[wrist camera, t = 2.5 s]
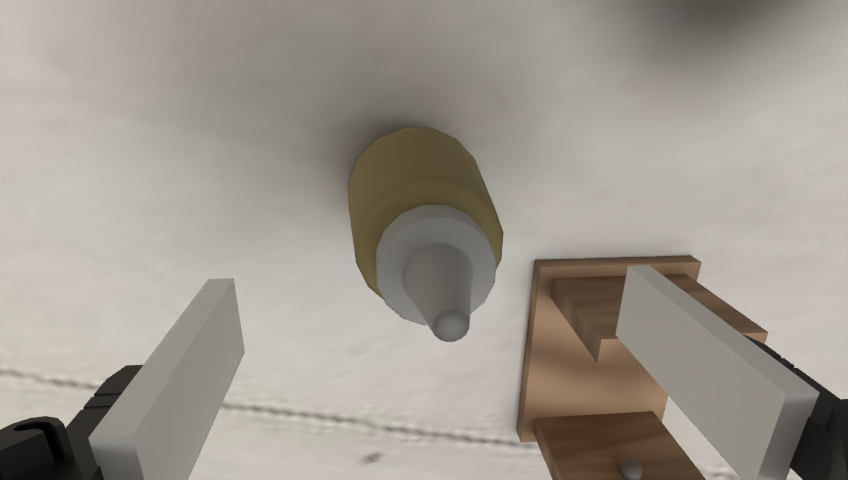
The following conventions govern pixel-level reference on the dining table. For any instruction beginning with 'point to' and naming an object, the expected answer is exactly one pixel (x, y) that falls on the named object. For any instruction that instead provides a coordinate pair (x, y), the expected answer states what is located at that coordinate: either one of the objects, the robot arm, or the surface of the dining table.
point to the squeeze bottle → (424, 228)
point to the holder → (602, 373)
